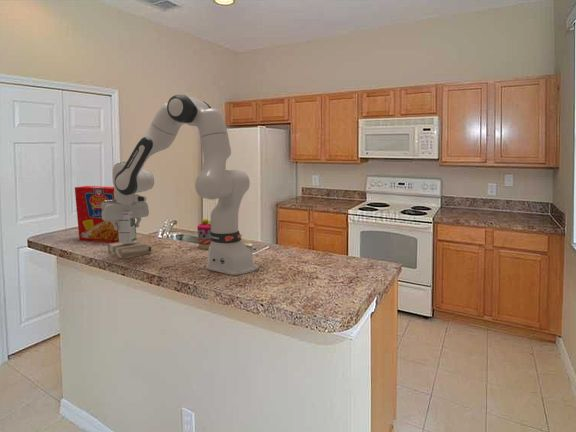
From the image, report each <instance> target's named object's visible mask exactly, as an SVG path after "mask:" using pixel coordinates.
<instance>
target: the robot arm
mask: <svg viewBox="0 0 576 432" xmlns="http://www.w3.org/2000/svg"><path fill="white" fill-rule="evenodd" d="M184 124H185V125H188V126H191V127H196V128H197V129H198V133H199V139H200V143H201V150H202V155H203V156H202V158H203V160H202V161H203V162H202V168H201V171H200V173H198V175H197V177H196V178H195V183H194V186H195V187H194V188H195V192H196V193H197V195H198V196H199V197H201V198H203V199H208V200H209V199H210V200H216V199H217V203H216V205H215V206H214V208H212V210H211V212H210V220H211V231H210V240H211V244H210V247H209V249H207V251H208V252H207V264H206V265H205V269H206V270H210V271H213V272H218V273H221V274H222V273H223V274H226V275H230V276H237V275H244V274H248V273H251V272H254V271H256V270H258V269H260V266H259V264H256V262H254V257H253V254H252V252H251V250H250V249H249V248H248V247H247V246H246V245H245V243H243V241H242V237H243V234H241V233H240V230H239V212H240V206H241V204H242V199H243V198H244V195H246V193H247V192H248V191H249V188H250V185H251V183H250V178H249V176H248V174H247V173H246V172H244V171H241V170H237V169H227V168H226V163H227V160H228V159H229V158H230V157H231V155H232V148H231V143H230V138H229V134H228V129H227V125H226V122H225V119H224V116H223V115H222V112H221V111H220V110H218V109H217V108H215V107H213V108H212V107H211V105H209V103H207V102H206V101H202V100H199V99H198V98H196V97H192V96H190V95H189V96H188V95H186V94H175V95H173V96H171V97H170V98H169V99H168V101H167V102H165V103H162V105H161V106H160V107H159V109H158V110H157V112H156V113H155V115H154V117H153V119H152V121H151V123H150V125H149V127H148V129H147V131H146V132H145V134H144V135H143V137H142V138H141V139H140V140H139V142H137V144H136V145H135V147H134V149H133V150H132V152H131V154H130V156H129V157H128V159H127V161H122V162H118V163H115V164H114V165H113V167H112V183H113V187H114V199H113V200H105V201H104V202H105V203H104V202H102V204H101V208H102V219H103V220H104V221H111V223H112V224H113V226H114V230H119V226H117V225H116V224H115V223H116V220H123V212H126V211H132V216H133V218H135V220H136V221H135V226H136V228H140V223H141V221H142V218H145V217H149V215H150V212H149V211H150V210H149V204H148V203H147V202H146V201H147V197H146V196H143V195H141V194H137V193H143V192H146V191H149V190H152V189H153V187H154V184H155V178H154V175H153V173H152V172H151V171H149V170H146V169H143V167H144V165H145V164H146V162H147V161H148V159H149V158H150V157H152V156H153V155H155V154H157V153H160V152H161V151H164V150H166V149H168V148H170V147H171V145H173V143H174V142H175V140H176V138H177V135H178V133H179V130H180V129H181V127H182V126H183V125H184Z"/></svg>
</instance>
